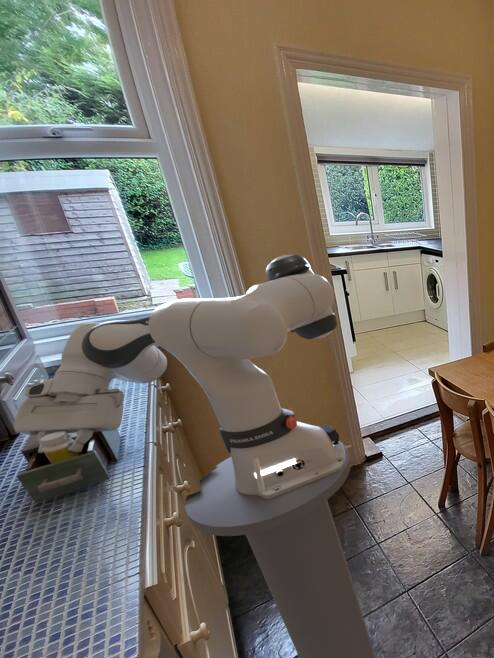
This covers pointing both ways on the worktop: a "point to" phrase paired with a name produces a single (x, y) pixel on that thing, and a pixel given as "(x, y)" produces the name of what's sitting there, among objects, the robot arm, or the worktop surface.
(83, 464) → the drawer
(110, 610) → the worktop surface
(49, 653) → the worktop surface
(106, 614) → the worktop surface
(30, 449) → the cabinet
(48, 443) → the supplement bottle
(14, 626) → the worktop surface
